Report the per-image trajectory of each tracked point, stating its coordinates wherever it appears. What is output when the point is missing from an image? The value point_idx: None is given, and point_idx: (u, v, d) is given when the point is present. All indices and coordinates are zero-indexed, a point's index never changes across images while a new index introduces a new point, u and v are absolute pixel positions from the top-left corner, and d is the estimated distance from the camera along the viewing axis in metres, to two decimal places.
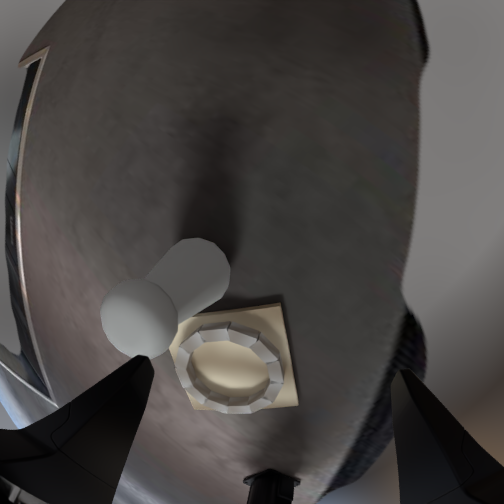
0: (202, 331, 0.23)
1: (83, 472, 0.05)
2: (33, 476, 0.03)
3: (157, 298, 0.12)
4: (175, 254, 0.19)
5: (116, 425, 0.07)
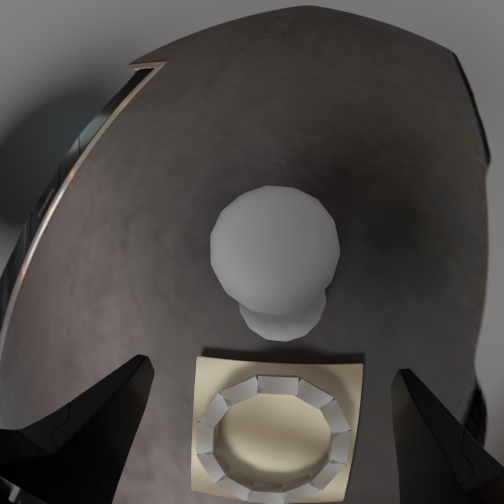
0: (262, 377, 0.16)
1: (83, 472, 0.05)
2: (33, 476, 0.03)
3: None
4: None
5: (116, 425, 0.07)
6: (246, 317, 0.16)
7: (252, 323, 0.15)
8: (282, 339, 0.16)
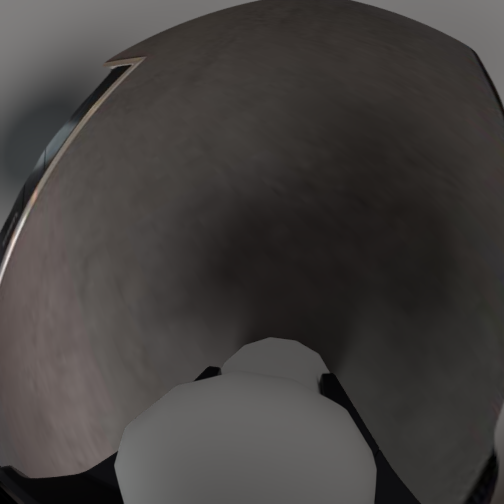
0: None
1: None
2: None
3: (362, 437, 0.03)
4: (280, 353, 0.10)
5: None
6: None
7: None
8: None
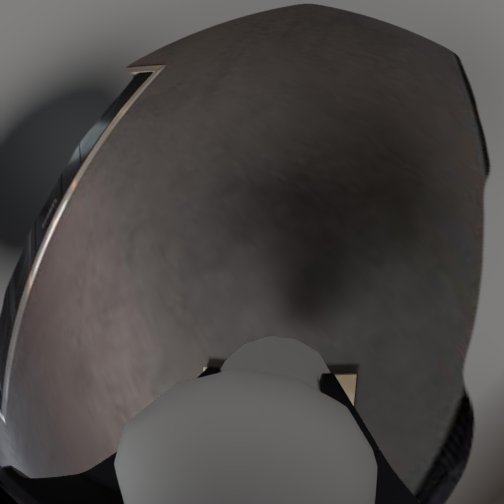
0: None
1: None
2: None
3: (362, 434, 0.03)
4: (280, 352, 0.10)
5: None
6: None
7: None
8: None
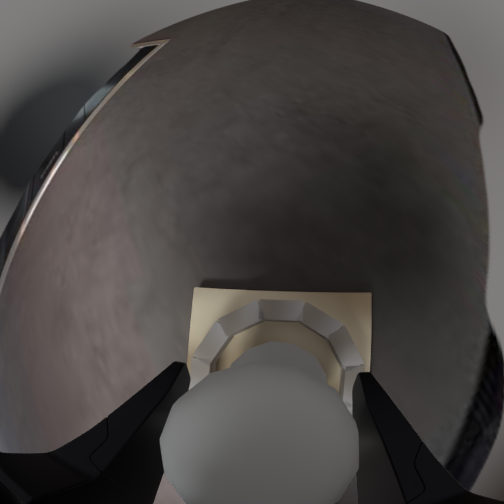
0: (264, 300, 0.16)
1: (124, 492, 0.04)
2: None
3: (347, 409, 0.05)
4: (281, 354, 0.11)
5: (157, 438, 0.06)
6: None
7: None
8: None
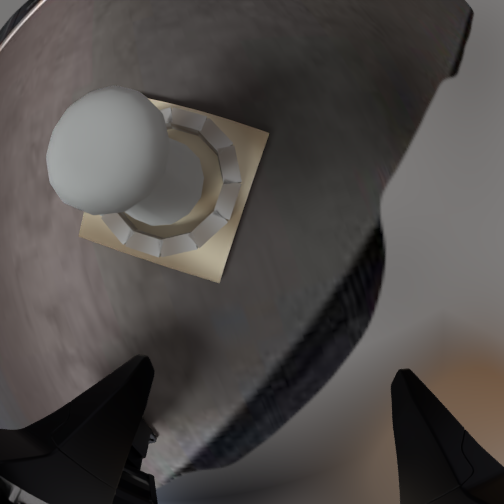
0: (176, 109, 0.17)
1: (83, 472, 0.05)
2: (33, 476, 0.03)
3: (164, 127, 0.07)
4: None
5: (116, 425, 0.07)
6: None
7: None
8: (147, 223, 0.16)
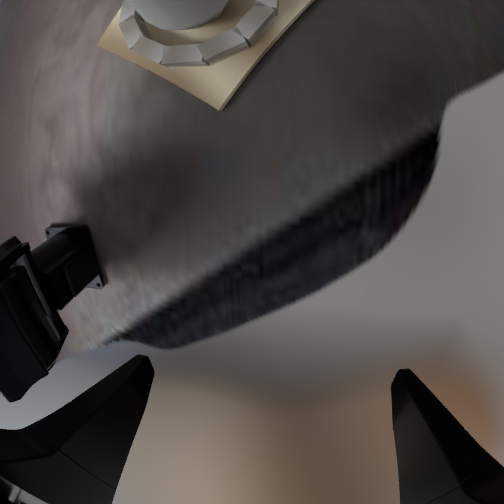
0: None
1: (83, 472, 0.05)
2: (33, 476, 0.03)
3: None
4: None
5: (116, 425, 0.07)
6: None
7: None
8: (154, 23, 0.10)
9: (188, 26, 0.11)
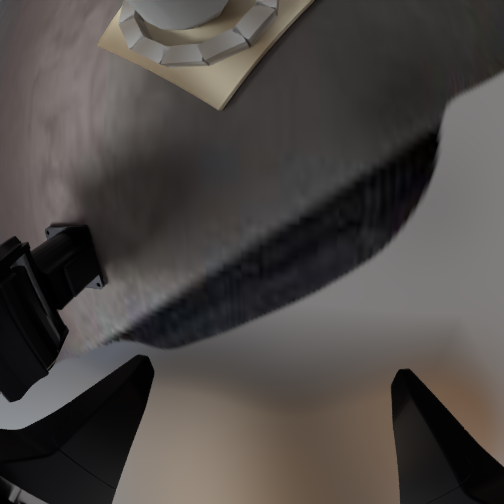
0: None
1: (82, 472, 0.05)
2: (33, 477, 0.03)
3: None
4: None
5: (116, 425, 0.07)
6: None
7: None
8: (154, 23, 0.10)
9: (188, 26, 0.11)
